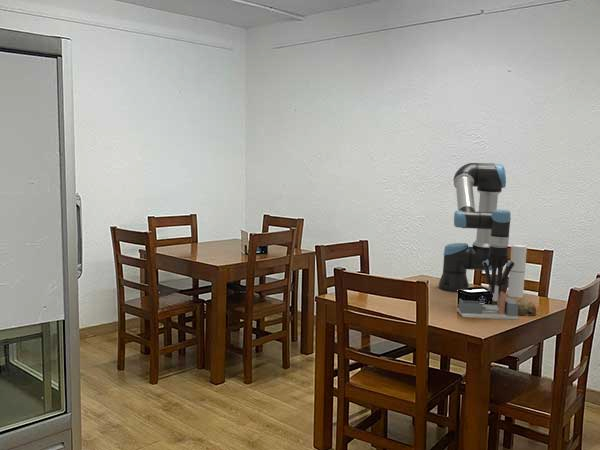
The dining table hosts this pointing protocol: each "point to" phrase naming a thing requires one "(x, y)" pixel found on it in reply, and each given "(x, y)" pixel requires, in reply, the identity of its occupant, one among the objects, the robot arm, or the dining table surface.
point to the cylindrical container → (517, 271)
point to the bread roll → (526, 308)
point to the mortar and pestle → (503, 287)
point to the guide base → (475, 311)
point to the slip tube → (500, 304)
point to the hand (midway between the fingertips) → (494, 300)
